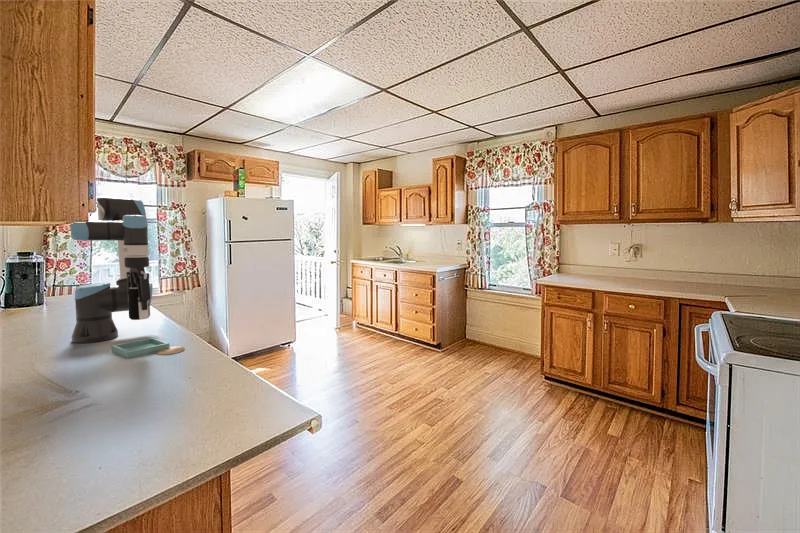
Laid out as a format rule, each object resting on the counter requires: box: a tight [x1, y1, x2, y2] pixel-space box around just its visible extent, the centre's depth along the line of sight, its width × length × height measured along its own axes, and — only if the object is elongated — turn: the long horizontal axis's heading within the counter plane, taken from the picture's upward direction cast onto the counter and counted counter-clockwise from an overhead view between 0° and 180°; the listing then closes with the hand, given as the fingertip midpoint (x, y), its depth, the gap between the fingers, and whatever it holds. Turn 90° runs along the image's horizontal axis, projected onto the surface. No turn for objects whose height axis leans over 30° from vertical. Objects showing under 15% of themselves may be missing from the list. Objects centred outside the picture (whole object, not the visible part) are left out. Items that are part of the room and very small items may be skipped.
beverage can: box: [128, 287, 151, 321], centre depth 139 cm, size 7×7×12 cm
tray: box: [111, 337, 171, 359], centre depth 140 cm, size 14×14×2 cm
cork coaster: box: [155, 345, 185, 356], centre depth 140 cm, size 9×9×1 cm
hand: (139, 317), depth 139 cm, fingers closed on beverage can, 7 cm apart
